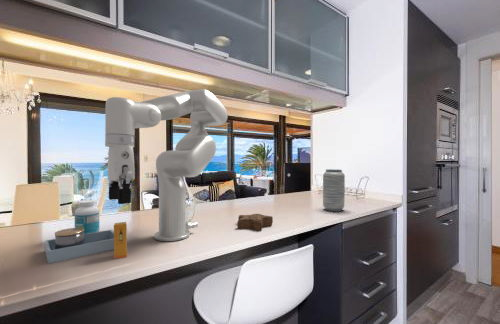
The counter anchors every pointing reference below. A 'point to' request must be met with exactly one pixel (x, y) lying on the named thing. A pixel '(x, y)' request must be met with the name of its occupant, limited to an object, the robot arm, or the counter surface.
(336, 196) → the vase
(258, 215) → the decorative item
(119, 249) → the supplement box
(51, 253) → the tote
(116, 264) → the counter surface
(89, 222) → the pill bottle
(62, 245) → the tin
